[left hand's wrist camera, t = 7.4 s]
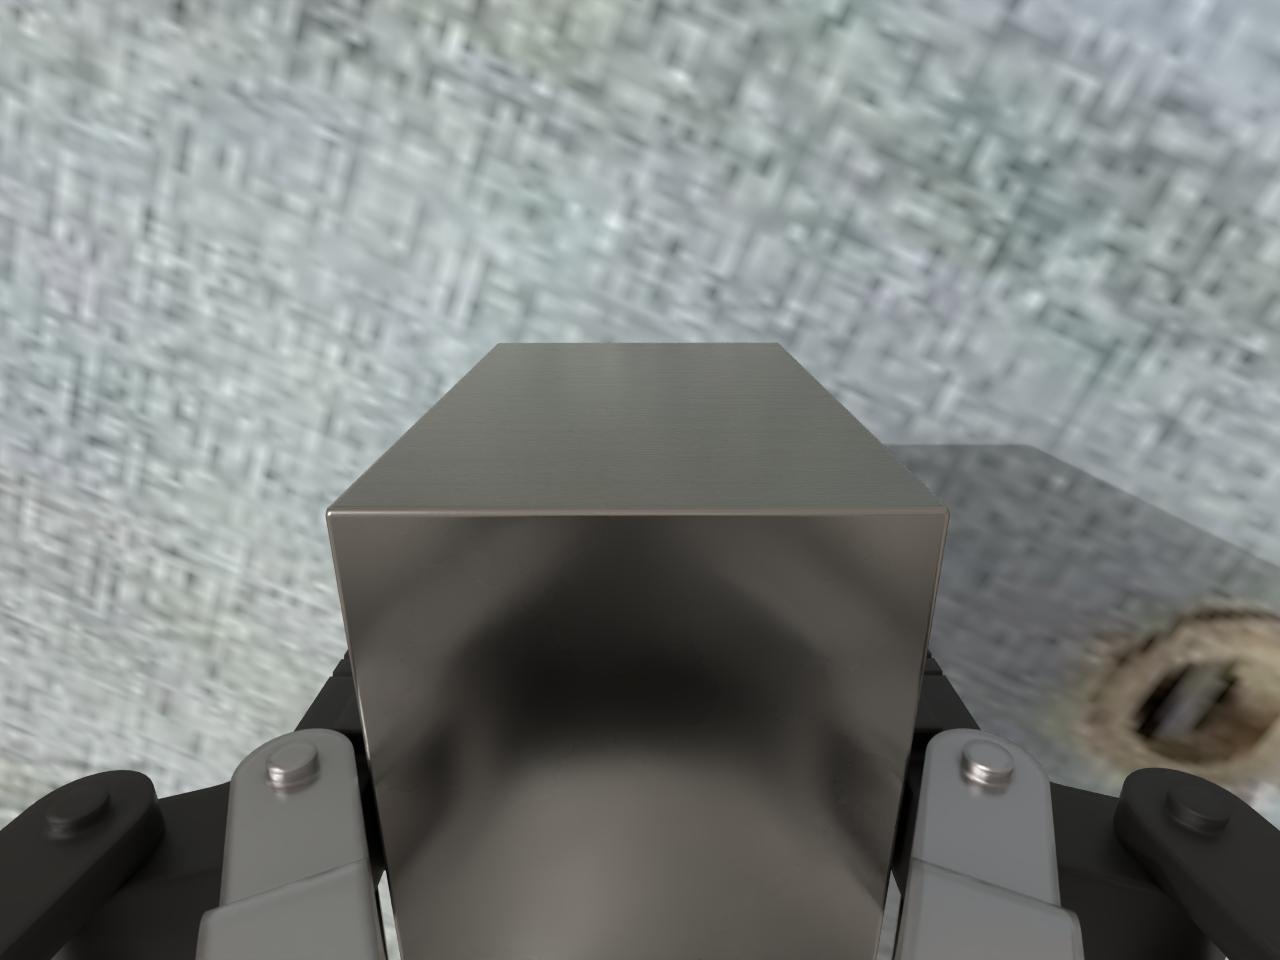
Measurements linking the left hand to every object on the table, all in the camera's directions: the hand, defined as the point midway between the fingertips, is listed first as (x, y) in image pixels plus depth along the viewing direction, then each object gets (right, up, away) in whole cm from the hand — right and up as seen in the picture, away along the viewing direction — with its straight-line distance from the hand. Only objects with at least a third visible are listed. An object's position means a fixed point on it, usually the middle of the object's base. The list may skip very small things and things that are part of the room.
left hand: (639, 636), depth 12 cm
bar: (0, -6, +7) cm, 9 cm away
